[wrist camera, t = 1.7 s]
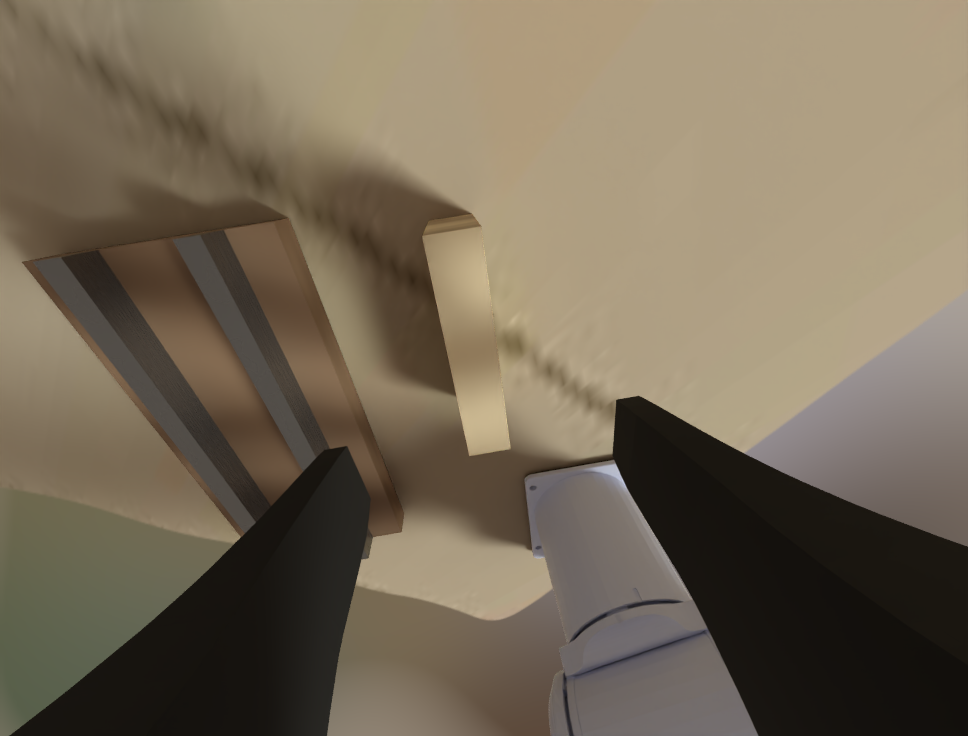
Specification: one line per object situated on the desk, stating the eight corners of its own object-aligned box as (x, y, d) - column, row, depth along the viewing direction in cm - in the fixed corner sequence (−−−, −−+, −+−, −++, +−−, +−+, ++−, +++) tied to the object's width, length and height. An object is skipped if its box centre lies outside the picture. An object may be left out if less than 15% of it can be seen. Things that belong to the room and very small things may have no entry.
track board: (403, 513, 25) (398, 552, 22) (267, 537, 25) (246, 579, 22) (288, 218, 15) (255, 226, 12) (59, 254, 15) (-25, 270, 12)
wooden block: (497, 392, 21) (510, 449, 16) (464, 397, 21) (469, 456, 16) (471, 213, 16) (481, 226, 11) (428, 220, 16) (421, 236, 11)
